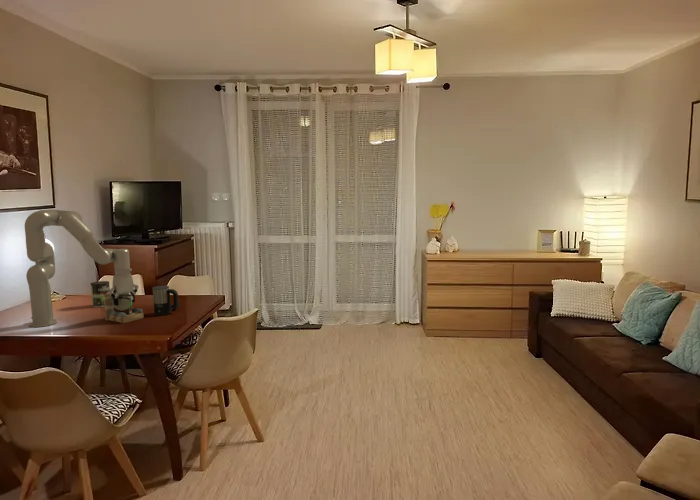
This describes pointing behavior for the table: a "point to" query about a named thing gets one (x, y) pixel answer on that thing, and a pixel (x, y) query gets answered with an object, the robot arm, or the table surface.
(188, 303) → the table surface
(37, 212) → the robot arm
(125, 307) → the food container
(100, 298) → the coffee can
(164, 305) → the milk frother
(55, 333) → the table surface
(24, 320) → the table surface
